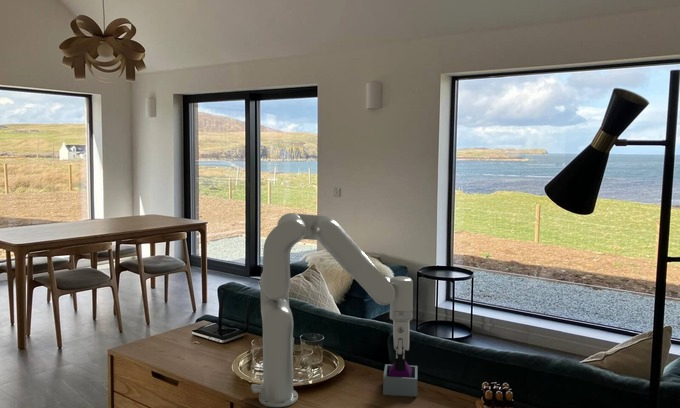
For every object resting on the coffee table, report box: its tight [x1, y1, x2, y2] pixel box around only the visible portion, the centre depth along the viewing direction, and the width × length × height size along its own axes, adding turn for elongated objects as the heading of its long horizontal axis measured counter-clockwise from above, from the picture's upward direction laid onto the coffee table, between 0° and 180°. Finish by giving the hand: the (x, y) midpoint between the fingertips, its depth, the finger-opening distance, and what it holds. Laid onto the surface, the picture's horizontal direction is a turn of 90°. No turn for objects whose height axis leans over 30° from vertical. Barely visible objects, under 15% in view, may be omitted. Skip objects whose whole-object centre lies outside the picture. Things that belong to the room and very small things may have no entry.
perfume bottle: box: [388, 329, 412, 378], centre depth 189 cm, size 8×8×18 cm
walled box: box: [382, 363, 418, 398], centre depth 190 cm, size 11×11×6 cm
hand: (400, 366), depth 189 cm, fingers closed on perfume bottle, 4 cm apart
